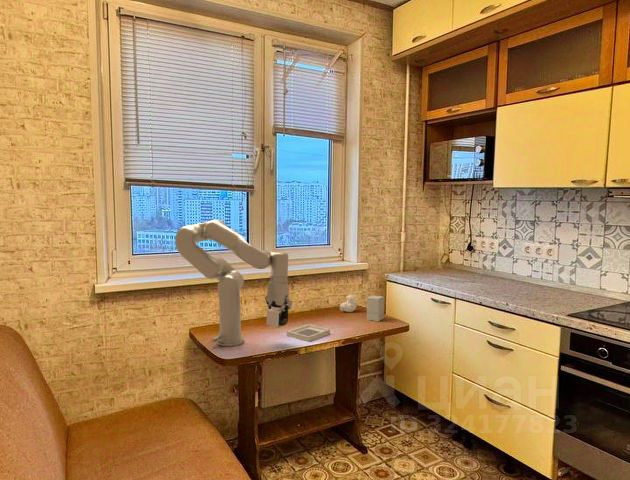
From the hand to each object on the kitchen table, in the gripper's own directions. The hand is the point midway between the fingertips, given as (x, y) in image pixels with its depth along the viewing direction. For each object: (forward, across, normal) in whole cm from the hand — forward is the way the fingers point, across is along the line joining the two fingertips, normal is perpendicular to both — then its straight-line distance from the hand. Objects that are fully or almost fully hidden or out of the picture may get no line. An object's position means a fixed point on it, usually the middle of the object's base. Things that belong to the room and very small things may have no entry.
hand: (277, 317), depth 198 cm
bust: (+11, -8, +69) cm, 70 cm away
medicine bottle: (+4, 0, 0) cm, 4 cm away
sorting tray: (+11, +3, +19) cm, 22 cm away
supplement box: (+10, +13, +64) cm, 66 cm away
